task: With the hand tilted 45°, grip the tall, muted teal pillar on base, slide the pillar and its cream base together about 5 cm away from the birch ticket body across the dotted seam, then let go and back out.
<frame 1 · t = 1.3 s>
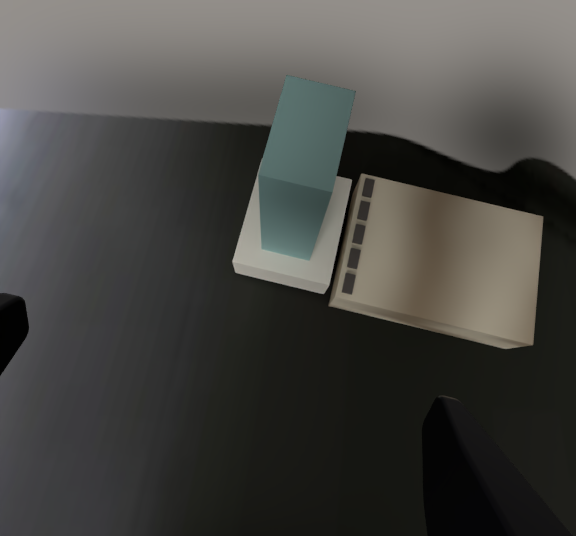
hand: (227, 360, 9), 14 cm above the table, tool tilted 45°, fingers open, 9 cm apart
ticket body: (425, 267, 24), on the table
teal pillar on base: (298, 195, 19), point 5 cm above the table, slide at 0.0 cm
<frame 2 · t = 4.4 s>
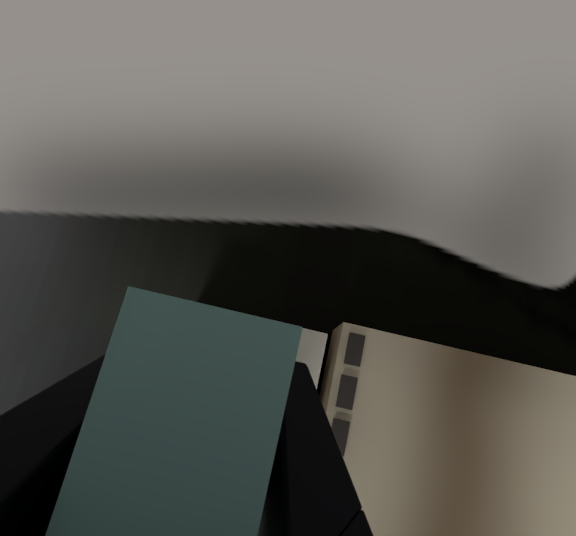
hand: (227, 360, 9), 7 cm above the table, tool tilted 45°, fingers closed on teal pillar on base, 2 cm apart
ticket body: (448, 455, 15), on the table
teal pillar on base: (219, 419, 10), point 5 cm above the table, slide at 0.0 cm, touching gripper
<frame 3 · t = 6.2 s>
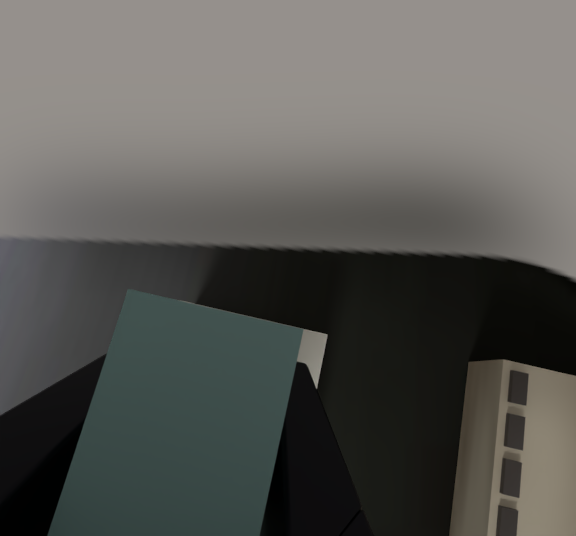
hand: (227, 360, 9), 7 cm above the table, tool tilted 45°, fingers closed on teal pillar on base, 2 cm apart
teal pillar on base: (219, 421, 10), point 5 cm above the table, slide at 5.4 cm, touching gripper
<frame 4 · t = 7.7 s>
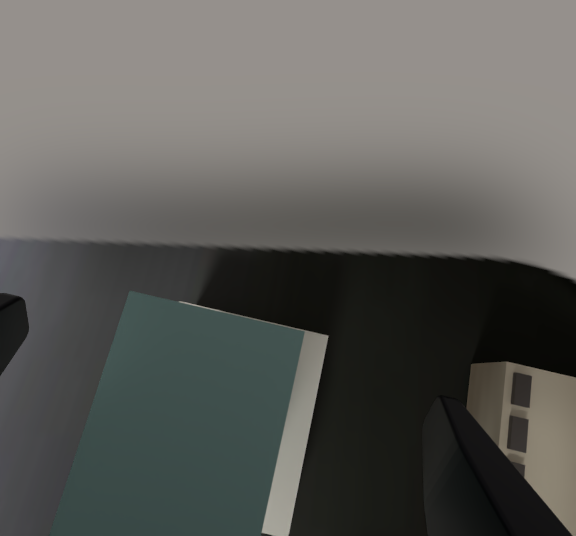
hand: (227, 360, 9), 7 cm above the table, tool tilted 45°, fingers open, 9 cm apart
teal pillar on base: (220, 422, 10), point 5 cm above the table, slide at 5.4 cm
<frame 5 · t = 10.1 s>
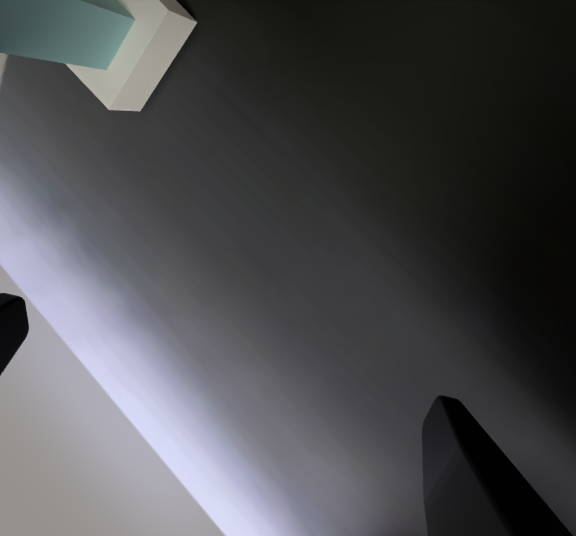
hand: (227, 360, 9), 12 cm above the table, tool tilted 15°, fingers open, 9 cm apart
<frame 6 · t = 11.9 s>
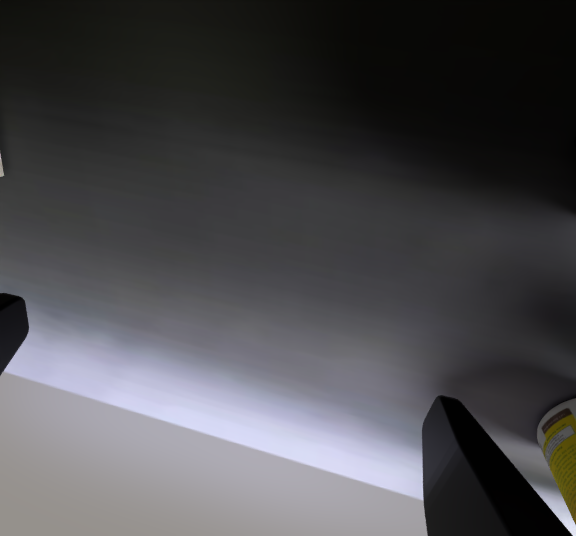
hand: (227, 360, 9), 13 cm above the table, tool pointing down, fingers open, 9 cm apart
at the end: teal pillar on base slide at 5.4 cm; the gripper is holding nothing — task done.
